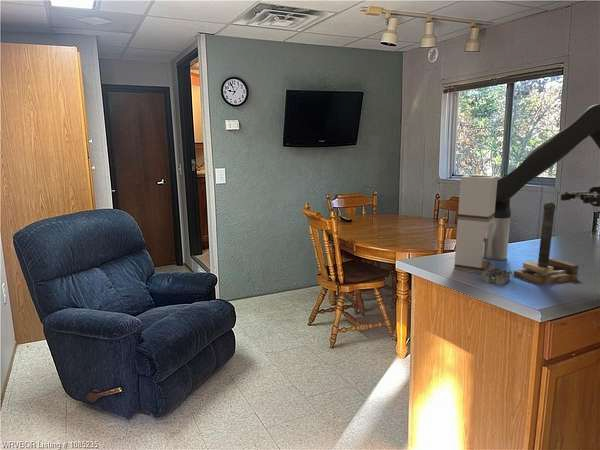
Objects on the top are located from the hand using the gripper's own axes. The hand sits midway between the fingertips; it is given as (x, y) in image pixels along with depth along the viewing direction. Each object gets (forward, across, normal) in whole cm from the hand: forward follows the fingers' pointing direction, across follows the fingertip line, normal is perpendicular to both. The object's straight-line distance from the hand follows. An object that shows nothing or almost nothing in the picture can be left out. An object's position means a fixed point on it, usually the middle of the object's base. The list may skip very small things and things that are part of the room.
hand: (572, 198), depth 156 cm
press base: (+8, -2, +28) cm, 29 cm away
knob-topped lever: (+12, -2, +25) cm, 27 cm away
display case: (+24, -21, +27) cm, 42 cm away
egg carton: (+26, -6, +28) cm, 39 cm away
